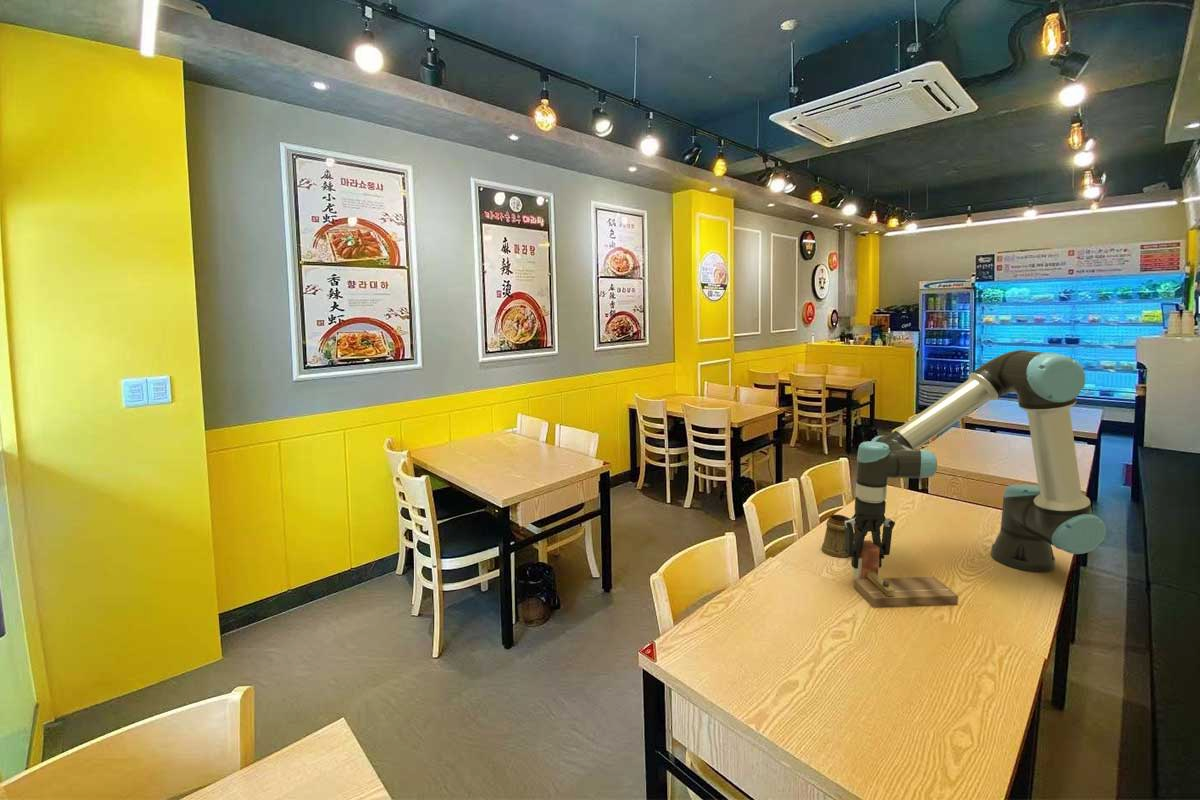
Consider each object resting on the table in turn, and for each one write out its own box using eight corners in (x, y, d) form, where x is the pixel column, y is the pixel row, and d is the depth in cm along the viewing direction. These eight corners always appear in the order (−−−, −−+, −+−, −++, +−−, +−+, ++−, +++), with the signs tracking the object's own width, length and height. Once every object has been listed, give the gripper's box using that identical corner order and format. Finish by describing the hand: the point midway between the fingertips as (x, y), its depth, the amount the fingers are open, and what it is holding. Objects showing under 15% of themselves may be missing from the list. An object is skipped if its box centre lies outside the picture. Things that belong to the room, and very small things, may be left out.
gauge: (867, 576, 153) (870, 540, 152) (897, 604, 139) (900, 564, 137) (853, 577, 153) (856, 540, 151) (882, 605, 138) (885, 565, 137)
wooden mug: (858, 565, 160) (861, 508, 157) (816, 550, 171) (818, 496, 168) (872, 557, 166) (876, 501, 163) (831, 542, 176) (833, 490, 173)
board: (932, 585, 148) (933, 576, 148) (957, 604, 138) (958, 595, 138) (853, 587, 148) (854, 579, 147) (872, 607, 138) (873, 598, 138)
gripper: (893, 492, 151) (888, 570, 155) (833, 494, 150) (829, 572, 154) (909, 502, 143) (903, 583, 147) (845, 504, 143) (841, 585, 147)
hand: (865, 578), depth 151 cm, fingers closed on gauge, 4 cm apart
